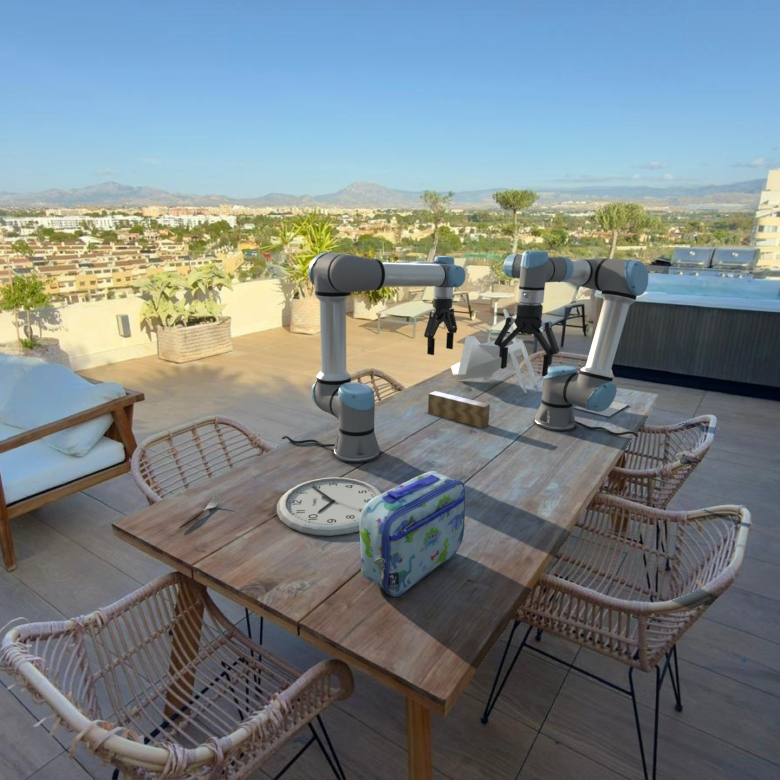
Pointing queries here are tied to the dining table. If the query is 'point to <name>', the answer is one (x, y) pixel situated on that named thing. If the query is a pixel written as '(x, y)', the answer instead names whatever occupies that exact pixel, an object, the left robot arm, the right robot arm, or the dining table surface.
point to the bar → (459, 409)
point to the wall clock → (326, 505)
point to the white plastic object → (490, 359)
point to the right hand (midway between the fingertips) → (523, 371)
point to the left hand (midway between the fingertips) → (440, 351)
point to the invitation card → (609, 411)
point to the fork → (209, 506)
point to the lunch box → (411, 531)
